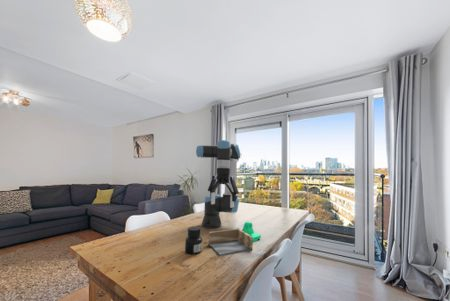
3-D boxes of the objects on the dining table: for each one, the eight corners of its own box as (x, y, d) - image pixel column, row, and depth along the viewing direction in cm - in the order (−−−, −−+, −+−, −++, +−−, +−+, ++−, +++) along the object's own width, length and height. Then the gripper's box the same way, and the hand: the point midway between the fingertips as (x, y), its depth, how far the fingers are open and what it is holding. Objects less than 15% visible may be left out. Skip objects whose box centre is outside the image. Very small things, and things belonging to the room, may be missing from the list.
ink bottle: (198, 256, 101) (199, 232, 102) (182, 254, 103) (183, 230, 104) (203, 248, 111) (204, 226, 112) (188, 246, 112) (189, 225, 113)
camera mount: (248, 243, 120) (249, 226, 121) (239, 239, 126) (240, 223, 127) (261, 239, 128) (261, 222, 129) (252, 235, 134) (252, 220, 135)
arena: (208, 244, 117) (209, 232, 117) (238, 239, 125) (238, 228, 126) (219, 255, 102) (219, 241, 103) (252, 249, 111) (252, 236, 111)
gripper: (202, 166, 118) (201, 203, 116) (238, 168, 103) (237, 210, 101) (210, 167, 124) (209, 201, 122) (245, 168, 109) (244, 207, 107)
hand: (222, 205), depth 112 cm, fingers open, 13 cm apart
